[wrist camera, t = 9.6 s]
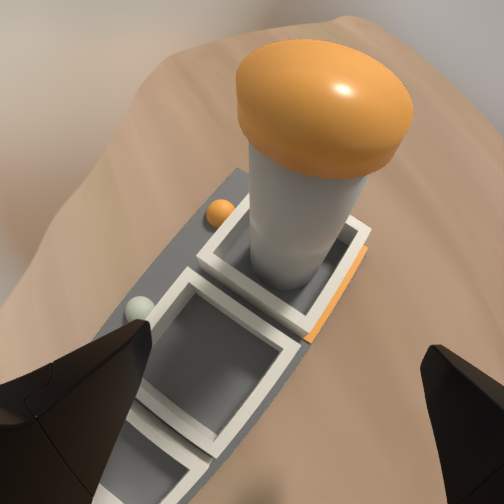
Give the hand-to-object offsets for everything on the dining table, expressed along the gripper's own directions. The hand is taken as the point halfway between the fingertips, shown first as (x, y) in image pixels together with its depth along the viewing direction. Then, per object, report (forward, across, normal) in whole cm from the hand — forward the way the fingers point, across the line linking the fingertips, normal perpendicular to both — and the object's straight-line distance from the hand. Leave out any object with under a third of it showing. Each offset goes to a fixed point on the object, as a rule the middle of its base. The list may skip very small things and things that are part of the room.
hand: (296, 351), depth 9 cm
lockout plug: (+9, 0, +1) cm, 9 cm away
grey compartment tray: (+6, +4, +6) cm, 9 cm away
